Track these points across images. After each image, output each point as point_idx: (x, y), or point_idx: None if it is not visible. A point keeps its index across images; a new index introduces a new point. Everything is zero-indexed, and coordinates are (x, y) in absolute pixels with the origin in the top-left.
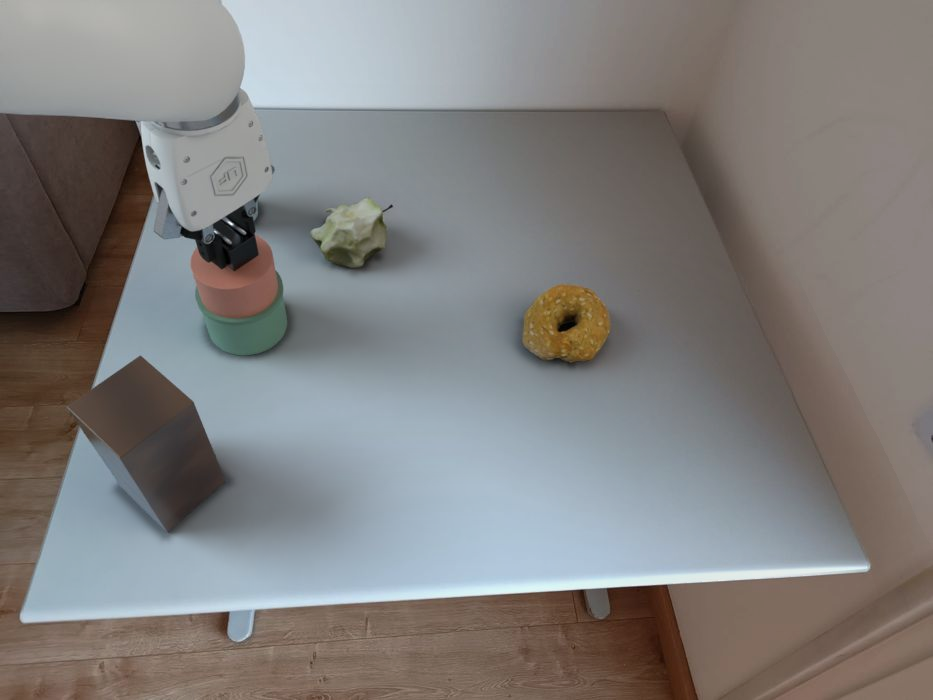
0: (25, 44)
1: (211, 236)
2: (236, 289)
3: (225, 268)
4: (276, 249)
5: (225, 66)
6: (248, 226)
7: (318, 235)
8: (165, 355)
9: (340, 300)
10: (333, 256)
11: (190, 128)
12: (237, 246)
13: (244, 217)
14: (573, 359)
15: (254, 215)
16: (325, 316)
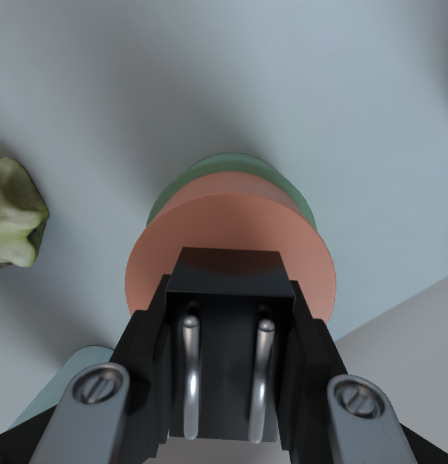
0: None
1: (345, 400)
2: (299, 214)
3: None
4: (98, 288)
5: None
6: (157, 335)
7: (22, 249)
8: (346, 261)
9: (89, 137)
10: (34, 206)
11: None
12: (254, 296)
13: (143, 378)
14: None
15: (82, 352)
16: (132, 131)
